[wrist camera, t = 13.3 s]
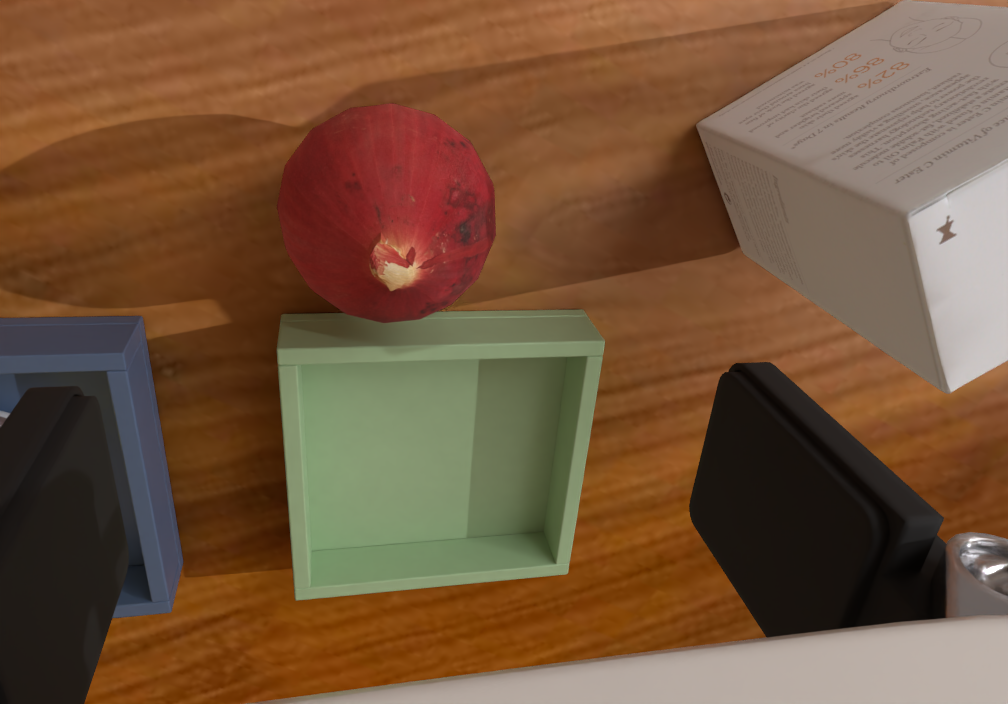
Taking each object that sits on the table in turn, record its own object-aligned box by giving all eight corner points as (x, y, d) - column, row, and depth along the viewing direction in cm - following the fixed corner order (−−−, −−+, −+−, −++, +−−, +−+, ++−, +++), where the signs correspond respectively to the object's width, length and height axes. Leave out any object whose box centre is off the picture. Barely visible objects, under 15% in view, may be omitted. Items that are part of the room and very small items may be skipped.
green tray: (280, 313, 25) (276, 349, 23) (583, 308, 27) (606, 341, 25) (297, 552, 30) (294, 601, 28) (551, 531, 32) (567, 574, 30)
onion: (465, 75, 22) (525, 131, 15) (477, 253, 25) (533, 367, 18) (269, 92, 21) (240, 159, 15) (304, 273, 24) (294, 402, 17)
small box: (738, 254, 27) (941, 405, 18) (689, 120, 24) (899, 220, 15) (933, 143, 27) (1241, 242, 18) (906, -7, 24) (1256, 19, 15)
